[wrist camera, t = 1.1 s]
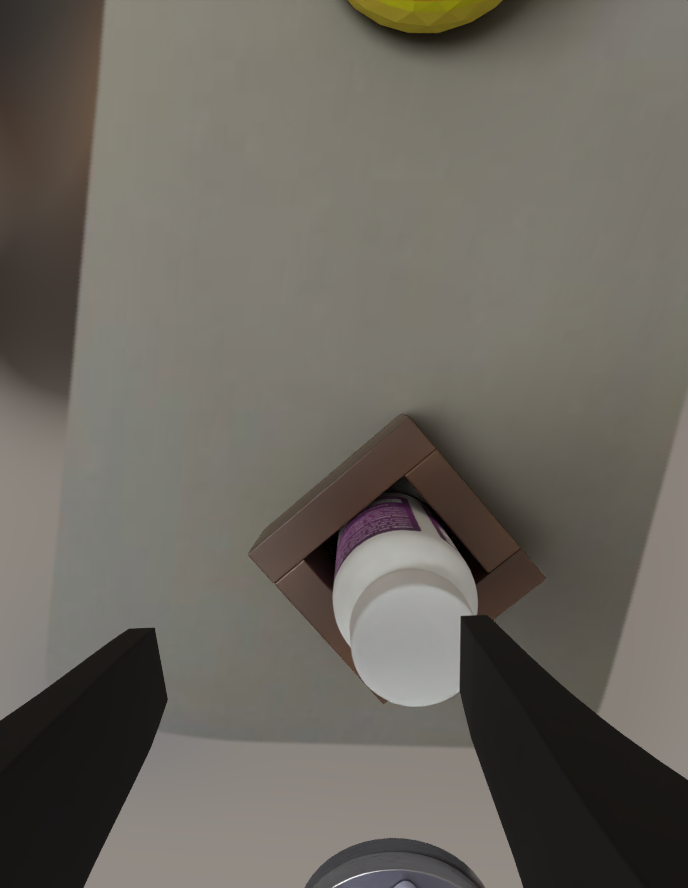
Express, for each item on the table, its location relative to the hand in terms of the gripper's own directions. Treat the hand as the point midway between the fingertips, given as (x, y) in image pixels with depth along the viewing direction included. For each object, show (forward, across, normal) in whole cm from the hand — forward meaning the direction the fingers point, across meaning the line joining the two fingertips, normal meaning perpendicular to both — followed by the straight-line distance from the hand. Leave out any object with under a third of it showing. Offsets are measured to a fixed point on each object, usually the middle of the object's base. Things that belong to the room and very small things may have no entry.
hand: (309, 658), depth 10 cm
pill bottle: (+12, -3, +3) cm, 13 cm away
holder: (+12, -3, +3) cm, 13 cm away
